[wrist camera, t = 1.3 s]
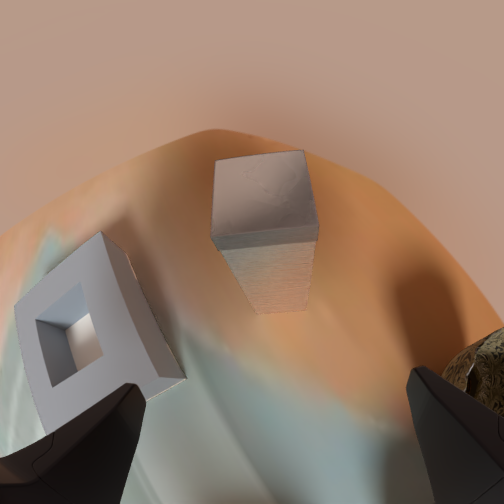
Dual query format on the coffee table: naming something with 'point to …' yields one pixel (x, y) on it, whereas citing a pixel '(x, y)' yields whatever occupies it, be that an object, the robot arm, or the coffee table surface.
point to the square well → (90, 334)
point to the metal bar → (266, 227)
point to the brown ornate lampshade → (481, 371)
